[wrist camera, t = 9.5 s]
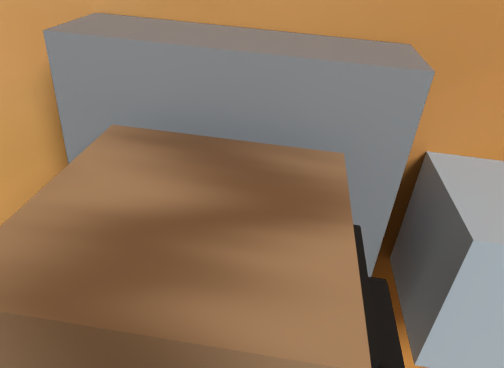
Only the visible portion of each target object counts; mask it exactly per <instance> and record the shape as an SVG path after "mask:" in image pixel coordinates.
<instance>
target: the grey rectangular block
mask: <svg viewBox="0 0 504 368" xmlns="http://www.w3.org/2000/svg"><path fill="white" fill-rule="evenodd" d="M43 33H44V38H45V43H46V48H47V54H48V59H49V64H50V69H51V75H52V80H53V85H54V90H55V95H56V101H57V106H58V111H59V116H60V121H61V127H62V132H63V137H64V142H65V148H66V153H67V158H68V163H70V162H72V161H73V160H74V159H75V158H76V157H77V156H78V155H79V154H80V153H81V152H83V151H84V150H85V149H86V148H87V147H88V146H89V145H90V144H91V143H92V142H94V141H95V140H96V139H97V138H98V137H99V136H100V135H101V134H102V133H103V132H105V131H106V130H107V129H108V128H109V127H110V126H111V125H120V126H128V127H136V128H144V129H152V130H161V131H169V132H177V133H185V134H193V135H201V136H209V137H217V138H225V139H233V140H241V141H249V142H257V143H265V144H274V145H282V146H290V147H298V148H306V149H314V150H322V151H330V152H338V153H344V157H345V165H346V173H347V180H348V188H349V196H350V204H351V212H352V220H353V224H354V225H360V227H361V232H362V239H363V245H364V252H365V258H366V265H367V272H368V277H371V276H372V273H373V270H374V266H375V263H376V260H377V257H378V253H379V250H380V247H381V244H382V241H383V237H384V234H385V231H386V228H387V224H388V221H389V218H390V215H391V211H392V208H393V205H394V202H395V199H396V195H397V192H398V189H399V186H400V182H401V179H402V176H403V173H404V170H405V166H406V163H407V160H408V157H409V153H410V150H411V147H412V144H413V140H414V137H415V134H416V131H417V128H418V124H419V121H420V118H421V115H422V111H423V108H424V105H425V102H426V99H427V95H428V92H429V89H430V86H431V82H432V79H433V76H434V73H435V71H434V70H433V69H432V68H431V67H430V66H429V65H428V64H427V63H426V61H425V60H424V59H423V58H422V57H421V56H420V55H419V54H418V53H417V52H416V50H415V49H414V48H413V47H412V46H411V45H410V44H401V43H391V42H381V41H371V40H361V39H351V38H341V37H331V36H321V35H312V34H302V33H292V32H282V31H272V30H262V29H252V28H242V27H232V26H223V25H213V24H203V23H193V22H183V21H173V20H163V19H153V18H143V17H134V16H124V15H114V14H104V13H93V14H90V15H87V16H84V17H81V18H78V19H75V20H72V21H69V22H66V23H63V24H60V25H57V26H54V27H51V28H48V29H45V30H43Z"/></svg>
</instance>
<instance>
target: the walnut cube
mask: <svg viewBox="0 0 504 368" xmlns="http://www.w3.org/2000/svg"><path fill="white" fill-rule="evenodd" d="M0 368H371V361H370V353H369V345H368V337H367V329H366V321H365V314H364V306H363V298H362V290H361V282H360V274H359V267H358V259H357V251H356V243H355V235H354V227H353V220H352V212H351V204H350V196H349V188H348V180H347V173H346V165H345V157H344V153H338V152H330V151H322V150H314V149H306V148H298V147H290V146H282V145H274V144H265V143H257V142H249V141H241V140H233V139H225V138H217V137H209V136H201V135H193V134H185V133H177V132H169V131H161V130H152V129H144V128H136V127H128V126H120V125H111V126H110V127H109V128H108V129H107V130H106V131H105V132H103V133H102V134H101V135H100V136H99V137H98V138H97V139H96V140H95V141H94V142H92V143H91V144H90V145H89V146H88V147H87V148H86V149H85V150H84V151H83V152H81V153H80V154H79V155H78V156H77V157H76V158H75V159H74V160H73V161H72V162H70V163H69V164H68V165H67V166H66V167H65V168H64V169H63V170H62V171H61V172H59V173H58V174H57V175H56V176H55V177H54V178H53V179H52V180H51V181H50V182H49V183H47V184H46V185H45V186H44V187H43V188H42V189H41V190H40V191H39V192H38V193H36V194H35V195H34V196H33V197H32V198H31V199H30V200H29V201H28V202H27V203H25V204H24V205H23V206H22V207H21V208H20V209H19V210H18V211H17V212H16V213H14V214H13V215H12V216H11V217H10V218H9V219H8V220H7V221H6V222H5V223H3V224H2V225H1V226H0Z"/></svg>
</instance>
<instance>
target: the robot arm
mask: <svg viewBox="0 0 504 368" xmlns="http://www.w3.org/2000/svg"><path fill="white" fill-rule="evenodd" d="M353 227H354V235H355V243H356V251H357V259H358V267H359V274H360V282H361V290H362V298H363V306H364V314H365V321H366V329H367V337H368V345H369V353H370V361H371V368H405V366H404V361H403V356H402V351H401V347H400V342H399V337H398V332H397V327H396V322H395V317H394V312H393V307H392V303H391V298H390V293H389V288H388V284H387V281H386V280H385V279H380V278H373V277H368V272H367V265H366V258H365V252H364V245H363V239H362V232H361V227H360V225H354V224H353Z"/></svg>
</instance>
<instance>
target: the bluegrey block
mask: <svg viewBox="0 0 504 368" xmlns="http://www.w3.org/2000/svg"><path fill="white" fill-rule="evenodd" d="M390 262H391V267H392V271H393V275H394V279H395V284H396V288H397V292H398V297H399V301H400V305H401V309H402V314H403V318H404V322H405V327H406V331H407V335H408V339H409V344H410V348H411V352H412V356H413V361H414V365H417V366H423V367H429V368H504V161H498V160H490V159H482V158H474V157H467V156H459V155H451V154H443V153H435V152H426V155H425V158H424V161H423V163H422V166H421V169H420V172H419V175H418V178H417V181H416V184H415V187H414V190H413V193H412V195H411V198H410V201H409V204H408V207H407V210H406V213H405V216H404V219H403V222H402V225H401V227H400V230H399V233H398V236H397V239H396V242H395V245H394V248H393V251H392V254H391V257H390Z"/></svg>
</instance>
